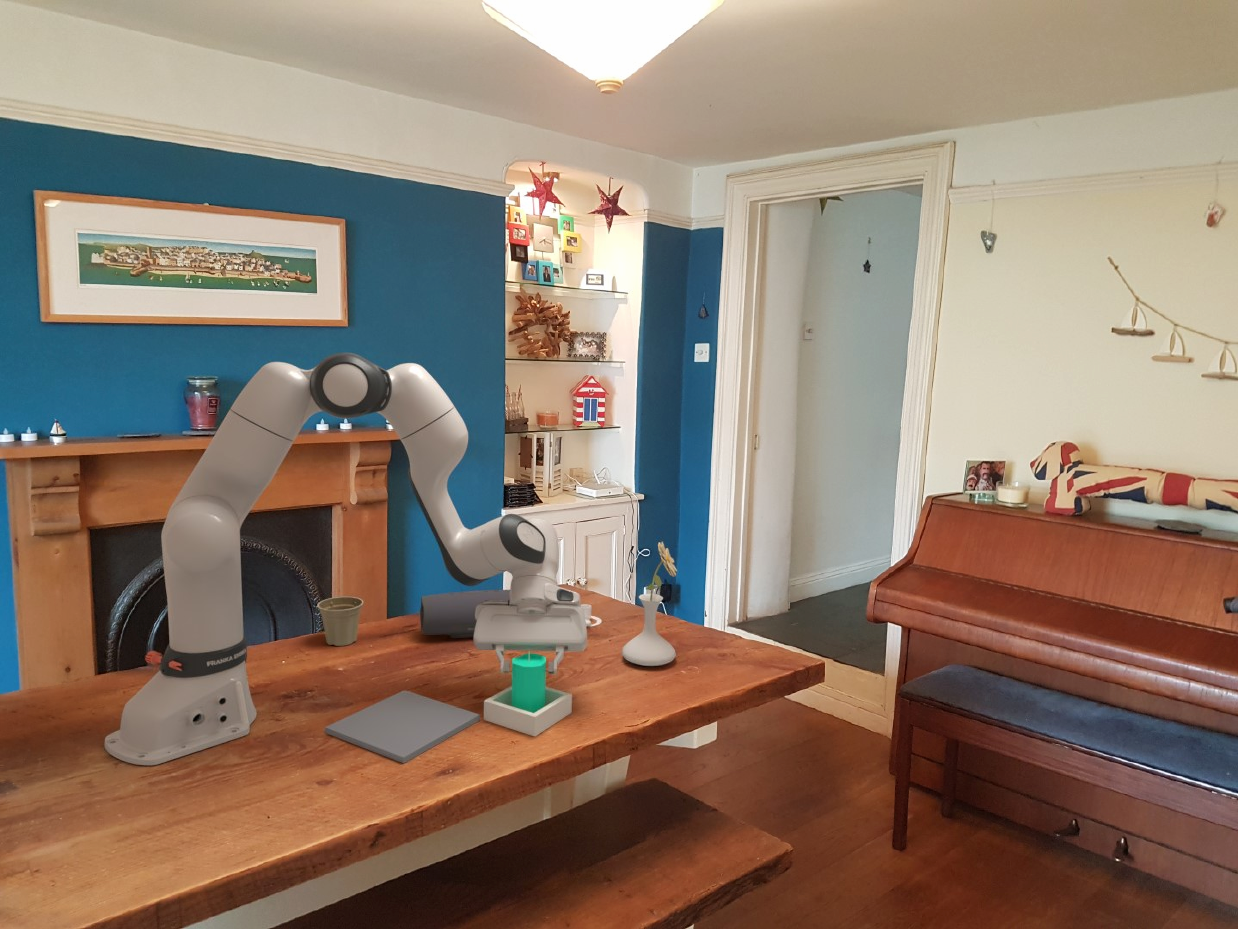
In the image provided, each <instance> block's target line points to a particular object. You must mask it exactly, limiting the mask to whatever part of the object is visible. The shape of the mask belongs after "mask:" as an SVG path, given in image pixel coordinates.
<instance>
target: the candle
mask: <svg viewBox="0 0 1238 929" xmlns="http://www.w3.org/2000/svg"><path fill="white" fill-rule="evenodd" d="M511 661H512V662H511V686H512V707H515V708H519V709H522V710H525V711H528V712H531V713H535V712H537V711H538V710H540V709H542V708H543V707H545V686H546V675H547V673H546V669H547V668H546V667H547V666H546V664H547V657H546V656H544V655H542V654H539V653H532V652H531V651H528V653H524V654H522V655H519V656H518V657H517V656H516V657H512V660H511Z"/></svg>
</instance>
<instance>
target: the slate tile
mask: <svg viewBox="0 0 1238 929" xmlns="http://www.w3.org/2000/svg"><path fill="white" fill-rule="evenodd" d="M480 720H481V715H480V714H479V713H475V712H472V711H469V710H468V709H467V710H466V709H463V708H461V707H460V708H459V707H458V706H455V705H451V704H449V703H446V702H442V701H439V700H436V699H433V698H431V697H427V696H424V695H421V694H418V693H414V692H411V691H409V690H406V689H404V690H402V691H400V692H398V693H396V694H393V695H390V696H388V697H387V698H384V699H382V700H381V701H379V702H375V703H374V704H372V705H370V706H367V707H365V708H363V709H361V710H359V711H356V712H355V713H353V714H351V715H347V716H346V717H344V718H342V719H340V720H337V721H335V722H333V723H331V724H329V725H327V726H325V727H324V734H327V735H330V736H332V737H334V738H338V739H340V740H341V741H345V742H348V743H351V744H352V745H354V746H355V745H356V746H357V747H360V748H363V749H366V750H368V751H369V752H374V753H376V754H379V755H381V756H384V757H386V758H389V759H391V760H394V761H396V762H399V763H402V764H405V763H407V762H409V761H410V760H412V759H414V758H416V757H417V756H420V755H421V754H423V753H425V752H427V751H428V750H430V749H432V748H434V747H436V746H437V745H439V744H440V743H442V742H444V741H446V740H447V739H449V738H451V737H453V736H455V735H456V734H458V733H460V732H461V731H464V730H465V729H467V728H469V727H470V726H472V725H475V723H478V722H479V721H480Z"/></svg>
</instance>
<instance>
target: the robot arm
mask: <svg viewBox="0 0 1238 929" xmlns="http://www.w3.org/2000/svg"><path fill="white" fill-rule="evenodd" d="M319 412H324V413H326V414H328V415H330V416H332V417H334V418H338V419H343V420H344V419H354V418H359V417H363V416H365V415H370V414H374V413H377V414H379V415H380V416H382V417H383V418H384V419H385V420H386V421H387V422H388V423H389V424H390V426H391V427H392V429H393V431H394V432H395V433H396V435H397V437H398V438H399V440H400V441H401V443H402V444H403V446H404V449H405V451H406V453H407V457H408V461H409V468H408V471H407V472H408V473H407V475H408V480H409V484H410V487H411V489H412V492H413V493H414V495H415V499H416V501H417V503H418V505H419V507H420V508H421V511H422V514H423V516H424V518H425V520H426V522H427V525H428V526H429V528H430V530H431V532H432V535H433V537H434V538H435V540H436V543H437V545H438V547H439V550H440V553H441V557H442V560H443V561H442V562H443V564H444V567H445V569H446V571H447V573H448V574H449V576H450V577H451V578H452V579H454V580H455V581H457V583H460V584H461V585H463V586H466V587H475V586H478V585H479V584H482V583H483V582H485V581H487V580H490V579H491V578H492V577H495V576H497V575H500V574H504V573H505V572H508V573H509V574H511V575H512V576H511V577H512V578H511V581H510V588H509V590H510V598H509V600H498V601H497V600H495V601H494V600H485V602H482V603H480V604H478V605H477V607H476V610H475V619H476V621H477V622H476V626H475V631H474V637H472V638H473V645H474V646H475V648H476V649H477V650H478V651H495V655H496V658H497V659H498V661H499V663H500V674H510V668H511V667H510V666H511V662H510V659H509V660H508V659H507V660H506V659H505V658H504V656H505V651H513V652H515V651H516V652H519V651H520V652H521V651H522V652H523V651H524V652H527V651H528V652H529V651H530V652H555V658H554V659H553V660H550V661H548V669H547V670H548V672H547V673H548V675H557V674H558V666H559V665H560V663H561V661H562V660H563V658H564V656H565V652H579V653H582V652H583V651H584V650H585V649H586V648H587V646H588V632H587V631H588V630H587V628H588V627H586V620H585V615H584V612H583V610H582V609H581V605H582V602H581V601H582V600H581V595H580V593H578V592H576V591H573V590H570V589H566V588H564V587H561V586H559V585H558V579H557V574H558V571H559V568H560V545H559V538H558V534H557V531H556V528H555V527H554V525H553V524H552V523H550V522H549V521H547V520H545V519H543V518H538V517H532V518H531V517H529V518H524V517H523V516H520V515H518V514H515V513H508V514H504V515H501V516H499V517H497V518H494V519H492V520H489V521H487V522H486V523H484V524H482V525H479V526H477V527H474V528H472V529H469V528H467V527H465V525H464V524H463V523H462V520H461V518H460V516H459V514H458V512H457V509H456V508H455V505H454V503H453V501H452V499H451V496H450V495H449V492H448V481H449V477H450V476H451V474H452V472H453V471H454V470H455V468H456V467H457V466H458V464H460V462H461V461H462V459H463V457H464V455H465V453H466V451H467V448H468V444H469V431H468V429H467V425H466V423H465V421H464V419H463V418H462V416H461V414H460V412H458V410H457V408H456V406H455V405H454V404H453V402H452V401H451V399H450V397H449V396H448V394H447V393H446V392H445V390H443V388H442V387H441V386H440V384H439V383H438V382H437V380H436V379H435V378H433V376H432V375H431V374H430V373H429V372H428V371H427V369H425V368H424V367H423V366H422V365H421V364H418V363H415V362H414V363H413V362H407V363H400V364H398V365H395V366H394V367H391V368H389V369H384V368H383V367H381V366H379V365H377V364H375V363H374V362H371V361H370V360H368V359H367V358H364V357H363V356H361V355H358V354H355V353H352V352H339V353H334V354H330V355H328V356H326V357H325V358H324V359H322V360H321V361H320V362H318V364H317V365H316V366H315V367H313V368H312V369H303V368H300V367H298V366H295V365H293V364H291V363H287V362H282V361H271V362H268V363H266V364H264V365H263V366H261V368H260V369H259V370H257V372H256V373H255V374H254V375H253V376H252V377H251V379H250V380H249V381H247V384H246V385H245V386H244V387H243V389H242V390H241V392H240V393H239V394H238V396H237V397H236V399H235V400H234V402H233V403H232V405H231V406H230V409H229V411H228V412H227V414H226V415H225V417H224V419H223V421H221V423H220V425H219V427H218V429H217V430H216V433H215V434H214V436H213V438H212V439H211V440H210V442H209V444H208V445H207V447H206V449H205V451H204V453H203V454H202V455H201V457H200V459H199V461H198V462H197V464H196V465H195V466H194V468H193V470H192V472H191V474H190V475H189V477H188V478H187V480H186V482H184V484H183V486H182V488H181V489H180V491H179V493H178V494H177V496H176V497H175V499H174V501H173V502H172V504H171V506H170V508H169V510H168V513H167V515H166V518H165V521H164V524H163V527H162V530H161V537H160V538H161V549H162V550H161V551H162V562H163V572H164V583H165V590H166V597H167V598H166V602H167V617H168V636H169V644H167V647H166V649H165V652H164V654H162V653H161V652H158V651H156V650H150V651H148V652H147V653H146V655H145V658H144V659H145V662H147V663H148V664H151V665H153V666H158V665H160V666H159V670H158V672H156V673H155V675H154V676H152V678H150V680H148V681H147V682H146V684H145V685H144V686H142V688H140V690H138V691H137V693H135V695H132V697H131V698H130V699H129V700H128V701H127V702H126V703H125V705H124V706H123V710H122V714H121V718H120V728H119V729H118V730H116V731H114V732H111V733H109V734H108V735H107V736H105V738H104V746H103V747H104V749H105V751H106V752H107V753H108V754H110V755H111V756H113V757H115V758H116V759H117V760H118V759H119V760H120V761H123V762H126V763H128V764H133V765H138V766H140V765H141V766H156V765H160V764H162V763H163V764H164V763H166V762H169V761H172V760H174V759H175V760H176V759H178V758H182V757H184V756H187V755H190V754H193V753H196V752H199V751H202V750H205V749H208V748H211V747H214V746H218V745H221V744H223V743H227V742H229V741H232V740H236V739H239V738H241V737H244V736H247V735H248V734H249V733H250V732H251V727H250V726H251V725H252V723H253V722H254V721H255V719H256V717H257V714H258V712H257V709H256V707H255V705H254V701H253V700H252V699H253V698H252V695H251V692H250V687H249V682H248V674H247V670H246V669H247V668H246V663H247V659H248V649H247V647H248V646H247V637H246V635H245V634H244V618H243V617H244V616H243V614H244V613H243V593H242V592H243V590H242V589H243V588H242V564H241V563H242V562H241V561H242V560H241V559H242V558H241V556H242V555H241V528H242V525H243V523H244V521H245V520H246V517H247V516H248V515H249V513H250V511H251V510H252V508H253V507H254V506H255V504H256V502H257V501H258V500H259V498H260V497H261V495H262V494H263V492H264V491H265V490H266V488H267V487H268V486H269V485H270V483H271V482H272V480H273V478H274V476H275V475H276V474H277V472H278V470H279V468H280V466H281V465H282V463H283V461H284V460H285V458H286V456H287V454H288V452H289V451H290V449H291V447H292V446H293V444H294V441H296V439H297V437H298V435H299V433H300V431H301V430H302V428H303V427H304V424H305V423H307V421H308V420H309V418H310V417H312V416H313V415H315V414H317V413H319ZM483 604H484V605H483Z"/></svg>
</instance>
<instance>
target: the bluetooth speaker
mask: <svg viewBox="0 0 1238 929" xmlns="http://www.w3.org/2000/svg"><path fill="white" fill-rule="evenodd" d="M509 598H510V589H492V590H491V589H487V590H470V591H469V590H468V591H457V592H456V591H455V592H448V593H447V592H446V593H438V594H437V593H436V594H430V595H429V594H428V595H424V596H420V608H419V613H420V614H419V616H420V618H419V620H420V630H421V633H422V635H431V636H432V635H435V636H436V635H449V637H450V638H452V639H463V638H473V637H474V631H475V626H476V622H477V621H476V619H475V610H476V607H477V605H478V604H480V603H482V602H485V600H494V601H495V600H497V601H498V600H509ZM483 605H484V604H483Z"/></svg>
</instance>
